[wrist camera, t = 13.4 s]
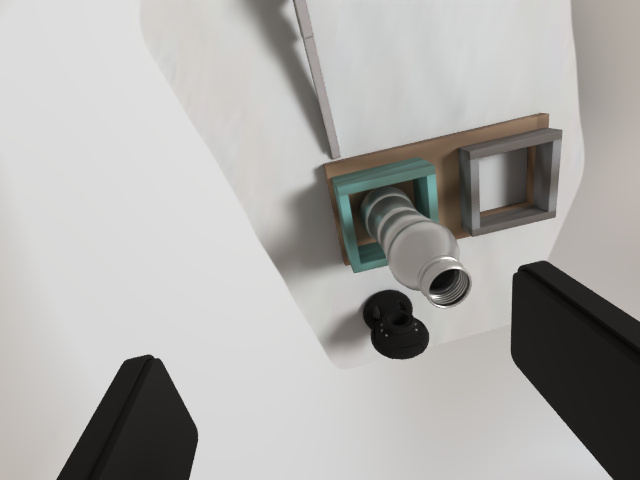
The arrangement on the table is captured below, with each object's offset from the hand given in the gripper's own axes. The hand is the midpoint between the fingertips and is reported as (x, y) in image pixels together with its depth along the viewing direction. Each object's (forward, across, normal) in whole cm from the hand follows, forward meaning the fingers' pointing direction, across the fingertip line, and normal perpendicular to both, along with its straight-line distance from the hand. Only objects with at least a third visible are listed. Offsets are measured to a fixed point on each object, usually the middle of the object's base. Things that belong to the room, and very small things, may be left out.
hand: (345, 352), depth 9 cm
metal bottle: (+35, -9, +10) cm, 37 cm away
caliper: (+37, -4, -8) cm, 38 cm away
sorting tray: (+36, -17, +10) cm, 41 cm away
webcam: (+37, -8, +27) cm, 46 cm away
